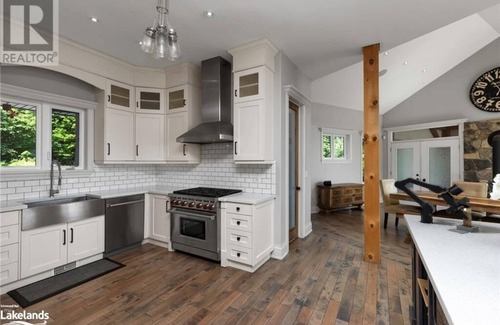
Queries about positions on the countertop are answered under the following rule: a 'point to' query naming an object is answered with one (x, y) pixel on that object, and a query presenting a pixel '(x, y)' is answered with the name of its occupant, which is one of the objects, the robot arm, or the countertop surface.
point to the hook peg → (468, 213)
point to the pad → (457, 231)
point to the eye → (468, 228)
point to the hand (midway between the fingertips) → (469, 219)
